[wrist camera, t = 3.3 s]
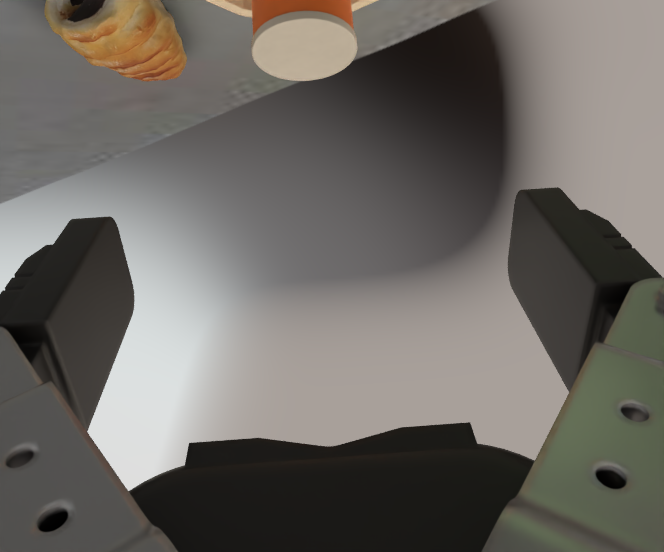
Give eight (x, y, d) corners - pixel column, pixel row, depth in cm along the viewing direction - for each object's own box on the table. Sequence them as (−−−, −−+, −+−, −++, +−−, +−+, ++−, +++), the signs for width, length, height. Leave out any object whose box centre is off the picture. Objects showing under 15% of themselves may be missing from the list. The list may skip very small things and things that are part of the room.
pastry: (211, 44, 43) (212, 94, 42) (129, 67, 45) (128, 114, 44) (127, -48, 34) (126, 12, 33) (30, -15, 36) (27, 42, 35)
